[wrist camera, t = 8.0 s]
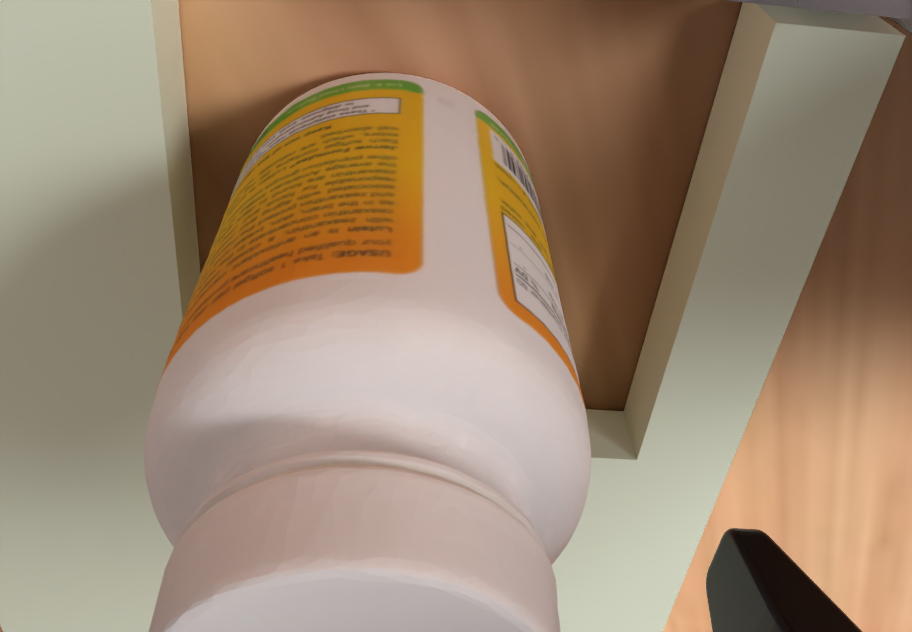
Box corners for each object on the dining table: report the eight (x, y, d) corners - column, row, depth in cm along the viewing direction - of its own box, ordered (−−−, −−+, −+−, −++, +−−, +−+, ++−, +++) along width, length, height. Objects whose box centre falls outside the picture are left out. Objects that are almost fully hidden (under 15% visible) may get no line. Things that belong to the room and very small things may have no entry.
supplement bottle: (206, 268, 17) (7, 785, 9) (299, 9, 14) (128, 425, 6) (458, 357, 18) (483, 869, 10) (588, 140, 15) (763, 612, 7)
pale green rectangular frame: (864, 6, 14) (906, 35, 13) (623, 651, 24) (634, 702, 23) (-174, -101, 13) (-237, -79, 11) (41, 629, 23) (19, 681, 22)
